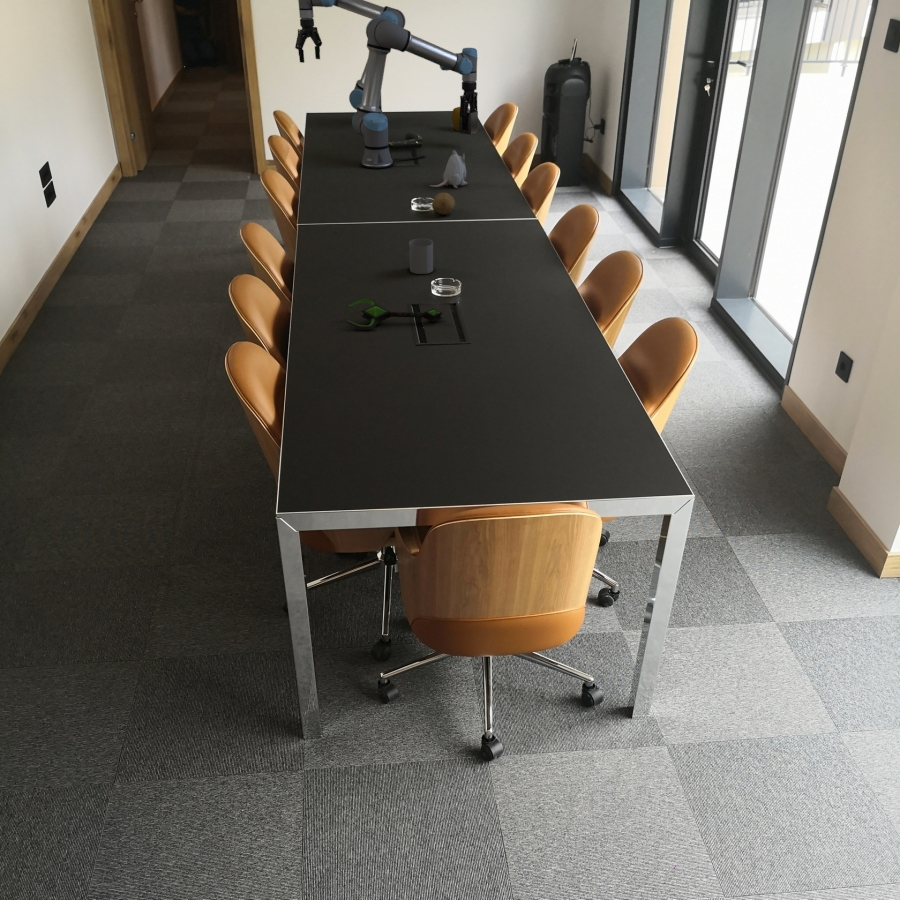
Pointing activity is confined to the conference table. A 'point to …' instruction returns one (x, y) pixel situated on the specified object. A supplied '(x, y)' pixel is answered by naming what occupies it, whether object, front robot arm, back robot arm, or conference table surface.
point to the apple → (456, 117)
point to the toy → (454, 171)
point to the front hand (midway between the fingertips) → (468, 128)
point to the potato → (443, 203)
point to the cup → (421, 256)
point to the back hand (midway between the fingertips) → (310, 60)
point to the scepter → (389, 314)
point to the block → (469, 122)
